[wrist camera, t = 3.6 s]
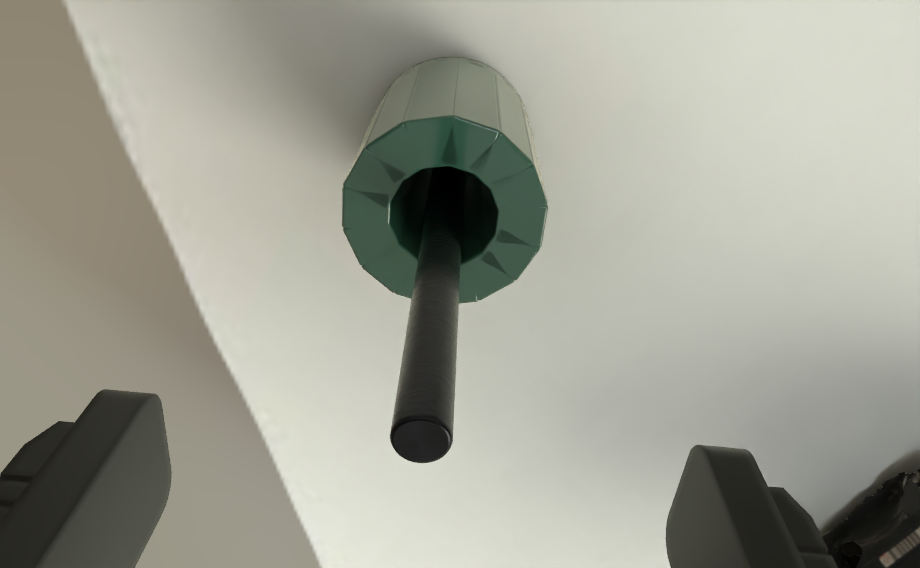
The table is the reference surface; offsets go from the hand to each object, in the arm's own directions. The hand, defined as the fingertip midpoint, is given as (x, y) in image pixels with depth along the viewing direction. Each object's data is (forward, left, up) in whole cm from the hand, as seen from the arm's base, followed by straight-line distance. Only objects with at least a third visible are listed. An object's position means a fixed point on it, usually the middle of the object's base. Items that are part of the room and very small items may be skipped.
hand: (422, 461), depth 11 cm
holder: (0, 0, -16) cm, 16 cm away
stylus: (0, 0, -16) cm, 16 cm away
